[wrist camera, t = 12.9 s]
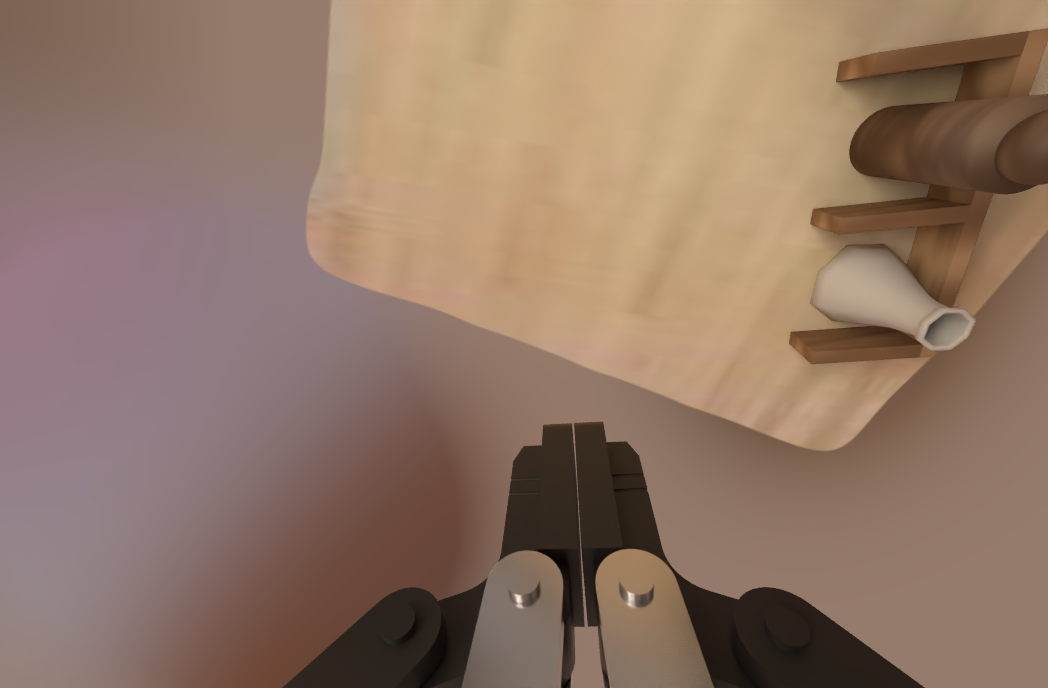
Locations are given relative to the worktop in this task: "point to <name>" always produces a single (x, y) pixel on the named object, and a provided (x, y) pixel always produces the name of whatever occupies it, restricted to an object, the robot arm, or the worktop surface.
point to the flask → (886, 297)
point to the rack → (946, 211)
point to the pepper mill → (958, 144)
